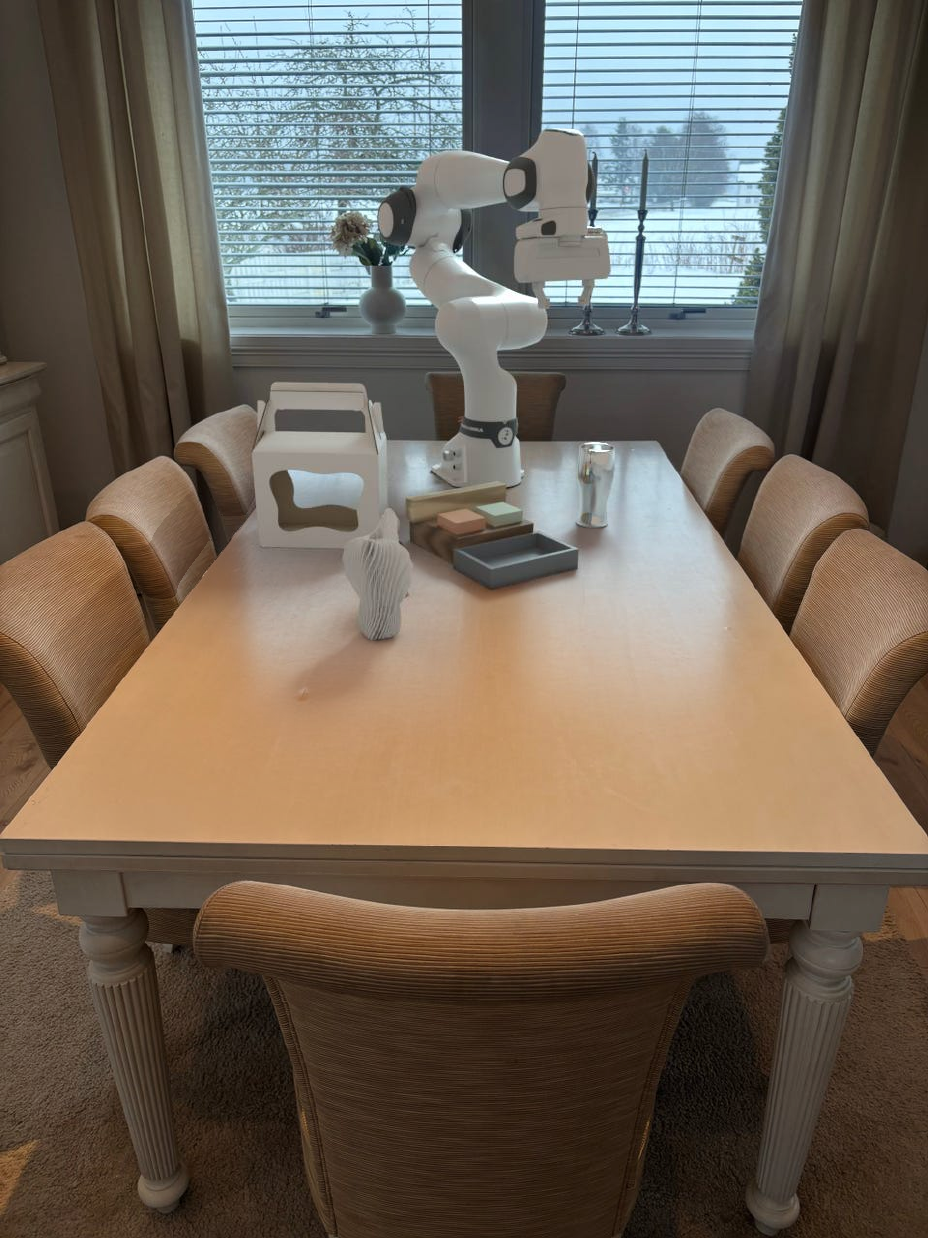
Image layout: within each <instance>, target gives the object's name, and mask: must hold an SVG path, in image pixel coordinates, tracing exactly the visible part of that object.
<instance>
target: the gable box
mask: <svg viewBox="0 0 928 1238" xmlns="http://www.w3.org/2000/svg"><path fill="white" fill-rule="evenodd" d="M278 410H281V411H284V410H315V411H317V410H323V411H325V410H326V411H328V410H329V411H330V410H332V411H354V412H358V411H360V412H362V414H363V415H364V419H365V431H338V430H337V431H328V430H322V431H321V430H279V429H278V430H276V418H275V417H276V416H275V415H276V412H277V411H278ZM256 421H257V432H256V436H255V439H254V443H253V447H252V449H251V460H252V472H253V473H252V474H253V484H254V495H255V497H254V498H255V505H256V506H255V507H256V509H255V510H256V519H257V520H256V521H257V531H258V532H257V533H258V545H259V547H260V548H279V549H280V548H283V549H284V548H285V549H287V548H289V549H296V548H297V549H328V550H329V549H332V550H333V549H335V550H344V546H345V545H346V544H347V543H348V542H349V541H351V540H353V539H355V538H358V537H363V536H367V535H369V534H371V533H372V532H374V530H376V527H377V531H376V535H377V532H378V526H377V525H378V524H379V521H380V520H381V518H382V515H384V512H385V510H386V509H387V508H389V496H388V495H389V494H388V491H389V489H388V486H389V485H388V454H387V453H388V452H387V434H386V432H385V431H384V423H383V415H382V404H381V402H380V401H375V402H374V403H373V402H372V400H371V399H369V398H368V392H367V389H366V386H365V385H364V384H363V383H361V382H360V383H359V382H318V381H317V382H314V381H313V382H312V381H310V382H308V381H307V382H305V381H304V382H302V381H300V382H299V381H274V382H273V383H272V384H271V385H270V389H269V397H268V398H267V400H266V401H265V400H263V399H258V400H257V418H256ZM289 471H300V472H305V473H306V472H307V473H311V474H318V475H331V474H332V475H333V474H341V473H342V474H343V473H345V474H348V473H349V474H353V475H357V476H358V477H360V478H361V479H362V482H363V487H362V491H361V493H360V496H359V498H358V500H357V506H356V509H355V508H354V509H353V508H350V507H347V506H345V505H339V504H321V505H318V506H312V507H300V506H297V505H296V502H295V499H294V497H295V496H294V495H295V487H294V482H293V479H292V477H291V475H290V473H289ZM377 539H378V537H377Z"/></svg>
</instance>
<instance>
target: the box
mask: <svg viewBox="0 0 928 1238" xmlns="http://www.w3.org/2000/svg"><path fill="white" fill-rule="evenodd" d="M579 552H580V549H579V548H578V547H575V546H573V545H571V544H569V543H567V542H565V541H562V540H560V539H558V538H555V537H553V536H551V535H549V534H547V533H544V532H542V531H540V530H536V531H533V532H531V533H526V534H522V535H517V536H512V537H508V538H503V539H499V540H494V541H489V542H485V543H480V544H475V545H471V546H466V547H461V548H457V549H454V559H453V564H452V565H453V570H455V571H457V572H458V573H461V574H462V575H463V576H466V577H467V578H468V579H471V580H473V581H474V582H476V583H478V584H480V585H482V586H484V587H485V588H487V589H489V590H491V591H492V590H495V589H500V588H503V587H507V586H510V585H515V584H516V585H517V584H520V583H523V582H527V581H532V580H536V579H540V578H544V577H548V576H551V575H556V574H561V573H565V572H568V571H571V570H577V569H578V567H579V566H578V565H579V564H578V562H579V554H580V553H579Z"/></svg>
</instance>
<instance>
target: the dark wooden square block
mask: <svg viewBox="0 0 928 1238" xmlns="http://www.w3.org/2000/svg"><path fill="white" fill-rule="evenodd" d="M473 512H474V513H475V512H476V511H473ZM408 522H409V541H411V542H413V543H414V544H416V545H418V546H419V547H422V548H423V549H424V550H426V551H428V552H429V553H431V554H433V555H435V556H437V557H438V558H441V559H442V560H444V561H446V562H448V563H450V564H451V565H453V559H454V549H457V548H461V547H466V546H471V545H475V544H480V543H485V542H489V541H494V540H499V539H503V538H508V537H512V536H517V535H522V534H526V533H531V532H534V526H535V525H534V522H532V521H529V520H527V519H525V518H524V517H522V521H521V522H516V523H511V524H506V525H501V526H496V527H494V526H492V525H490V524H488V523H486V522H485V529H482V530H477V531H472V532H467V533H462V534H457V535H456V534H454V533H452V532H450V531H448V530H446V529H444V528H442V527H440V526H438V525H437V519H431V520H426V521H421V522H416V523H412V522H410V521H408Z"/></svg>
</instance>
